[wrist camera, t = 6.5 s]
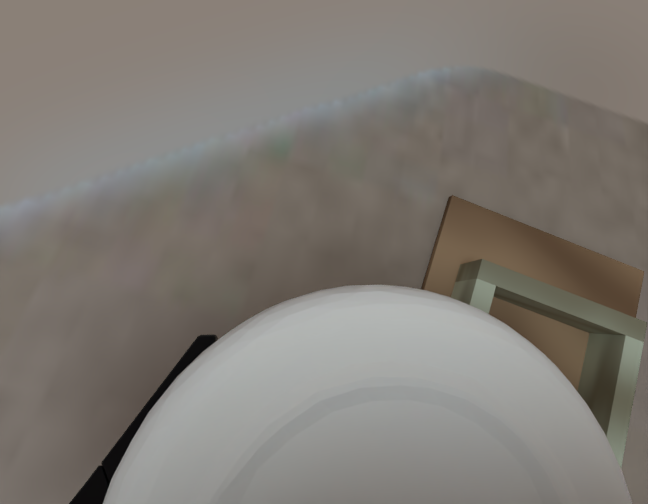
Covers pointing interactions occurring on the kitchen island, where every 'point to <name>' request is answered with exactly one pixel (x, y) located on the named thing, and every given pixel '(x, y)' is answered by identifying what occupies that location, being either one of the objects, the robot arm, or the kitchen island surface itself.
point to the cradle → (549, 302)
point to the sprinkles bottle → (370, 413)
